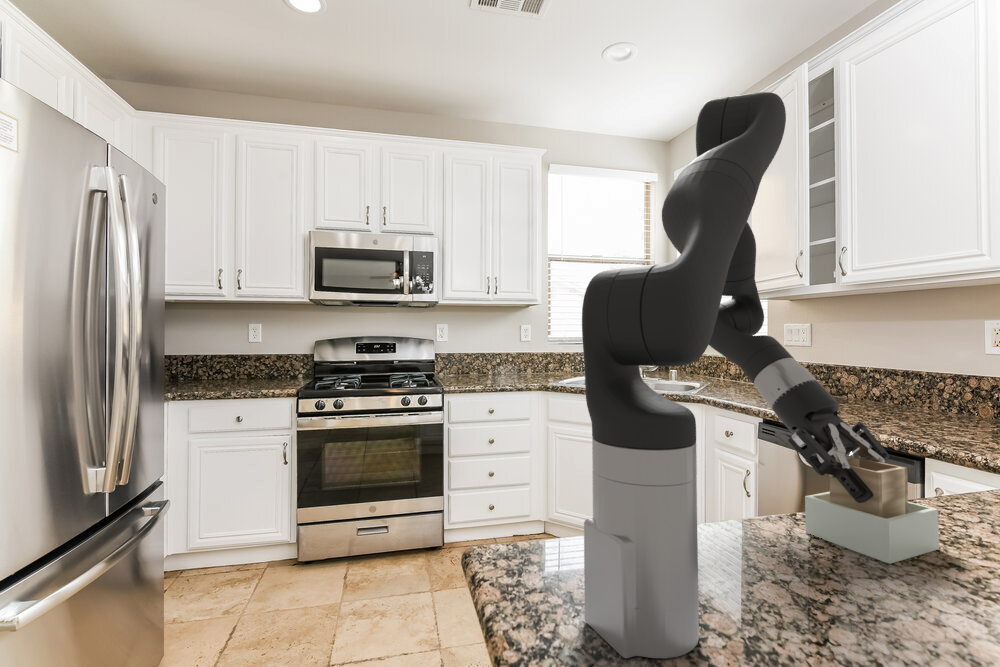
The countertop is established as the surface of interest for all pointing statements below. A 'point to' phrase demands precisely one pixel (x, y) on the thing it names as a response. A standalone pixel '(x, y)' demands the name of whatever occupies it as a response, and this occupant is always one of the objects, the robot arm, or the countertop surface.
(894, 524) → the sage crate
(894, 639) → the countertop surface
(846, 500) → the birch crate
